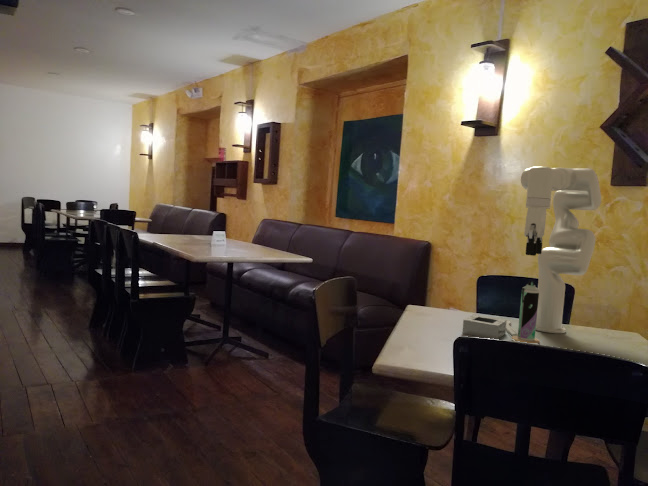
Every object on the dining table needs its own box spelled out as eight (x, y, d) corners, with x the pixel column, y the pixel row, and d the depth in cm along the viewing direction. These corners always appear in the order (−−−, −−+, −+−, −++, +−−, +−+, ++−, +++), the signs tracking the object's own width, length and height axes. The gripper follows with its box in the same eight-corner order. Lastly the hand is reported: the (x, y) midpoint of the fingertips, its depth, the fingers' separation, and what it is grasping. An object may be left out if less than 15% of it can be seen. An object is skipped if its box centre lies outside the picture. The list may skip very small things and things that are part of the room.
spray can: (526, 341, 169) (532, 282, 168) (514, 337, 174) (519, 280, 173) (538, 340, 172) (543, 282, 170) (525, 336, 177) (530, 279, 175)
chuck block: (472, 327, 189) (473, 314, 188) (505, 333, 182) (506, 320, 182) (462, 333, 179) (463, 319, 178) (496, 340, 172) (498, 325, 172)
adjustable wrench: (520, 340, 176) (521, 335, 176) (501, 338, 177) (501, 333, 177) (509, 324, 200) (510, 319, 200) (492, 322, 202) (493, 318, 202)
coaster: (514, 336, 179) (514, 334, 179) (541, 341, 174) (541, 339, 174) (508, 341, 171) (508, 338, 171) (536, 346, 167) (536, 344, 167)
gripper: (531, 204, 179) (527, 252, 180) (520, 202, 164) (516, 254, 166) (554, 205, 175) (549, 254, 176) (545, 203, 160) (540, 257, 161)
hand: (533, 254), depth 171 cm, fingers open, 9 cm apart
